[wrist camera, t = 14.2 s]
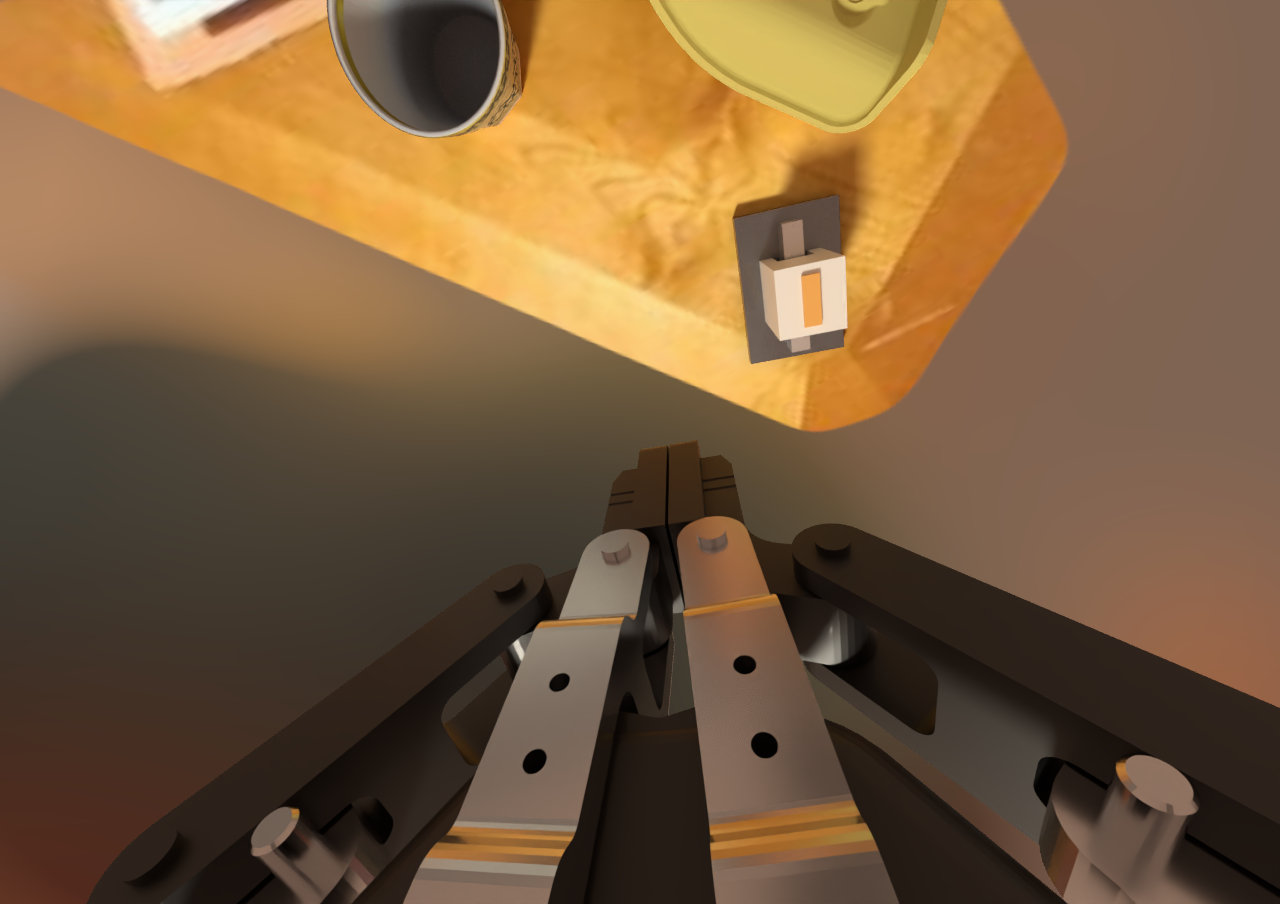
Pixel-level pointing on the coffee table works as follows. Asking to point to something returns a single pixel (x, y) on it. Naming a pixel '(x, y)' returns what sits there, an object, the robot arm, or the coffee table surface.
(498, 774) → the robot arm
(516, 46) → the ceramic cup
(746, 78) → the plastic component
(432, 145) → the coffee table surface
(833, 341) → the panel
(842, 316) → the block
